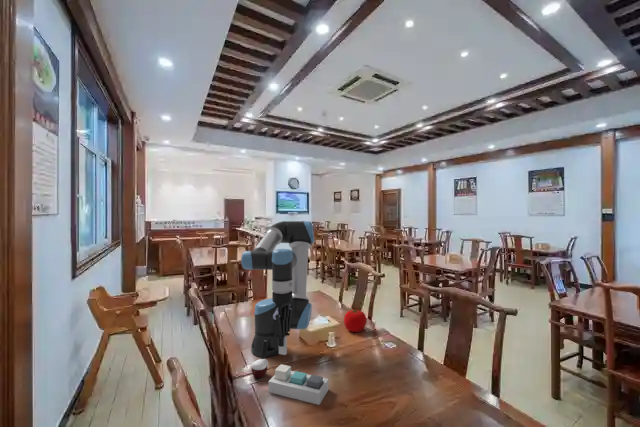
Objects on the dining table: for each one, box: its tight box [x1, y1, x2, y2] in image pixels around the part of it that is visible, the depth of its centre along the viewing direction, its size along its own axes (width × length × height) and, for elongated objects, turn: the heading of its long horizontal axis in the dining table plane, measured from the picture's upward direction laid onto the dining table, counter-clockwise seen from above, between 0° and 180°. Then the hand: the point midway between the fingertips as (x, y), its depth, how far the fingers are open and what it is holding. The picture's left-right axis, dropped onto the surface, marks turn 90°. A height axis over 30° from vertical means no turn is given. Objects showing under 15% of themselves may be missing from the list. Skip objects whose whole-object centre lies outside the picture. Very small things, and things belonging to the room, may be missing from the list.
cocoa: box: [250, 340, 269, 379], centre depth 122 cm, size 10×6×12 cm, turn 139°
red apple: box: [343, 309, 367, 333], centre depth 166 cm, size 12×13×11 cm
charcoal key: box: [307, 374, 324, 390], centre depth 109 cm, size 4×4×4 cm
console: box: [267, 370, 330, 406], centre depth 111 cm, size 20×9×4 cm, turn 68°
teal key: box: [291, 370, 308, 386], centre depth 111 cm, size 4×4×4 cm
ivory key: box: [274, 364, 292, 382], centre depth 114 cm, size 4×4×4 cm
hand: (282, 353), depth 113 cm, fingers closed
